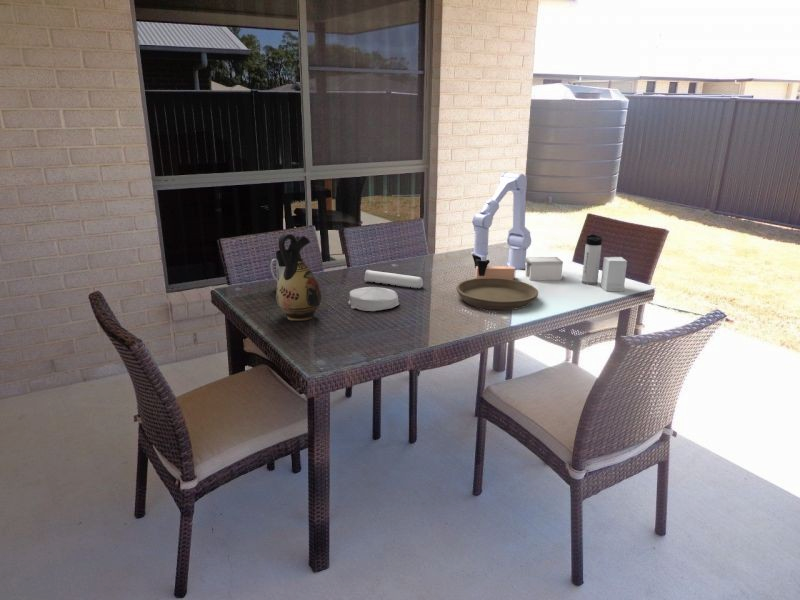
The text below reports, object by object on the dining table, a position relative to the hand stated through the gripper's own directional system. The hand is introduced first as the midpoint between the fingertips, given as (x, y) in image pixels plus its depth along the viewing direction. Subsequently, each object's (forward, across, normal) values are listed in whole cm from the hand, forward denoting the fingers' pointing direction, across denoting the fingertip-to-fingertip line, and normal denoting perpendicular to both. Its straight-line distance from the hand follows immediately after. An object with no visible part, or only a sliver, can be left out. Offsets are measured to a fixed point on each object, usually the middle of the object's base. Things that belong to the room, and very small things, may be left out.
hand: (479, 273), depth 260 cm
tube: (+2, +8, -37) cm, 38 cm away
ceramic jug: (+2, +47, -73) cm, 87 cm away
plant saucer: (+3, +29, +1) cm, 29 cm away
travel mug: (+2, +9, +45) cm, 46 cm away
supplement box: (+3, +18, +51) cm, 54 cm away
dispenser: (+2, 0, +27) cm, 27 cm away
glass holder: (+2, +13, -82) cm, 83 cm away
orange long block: (+2, 0, +6) cm, 7 cm away
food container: (+2, +32, -46) cm, 56 cm away
